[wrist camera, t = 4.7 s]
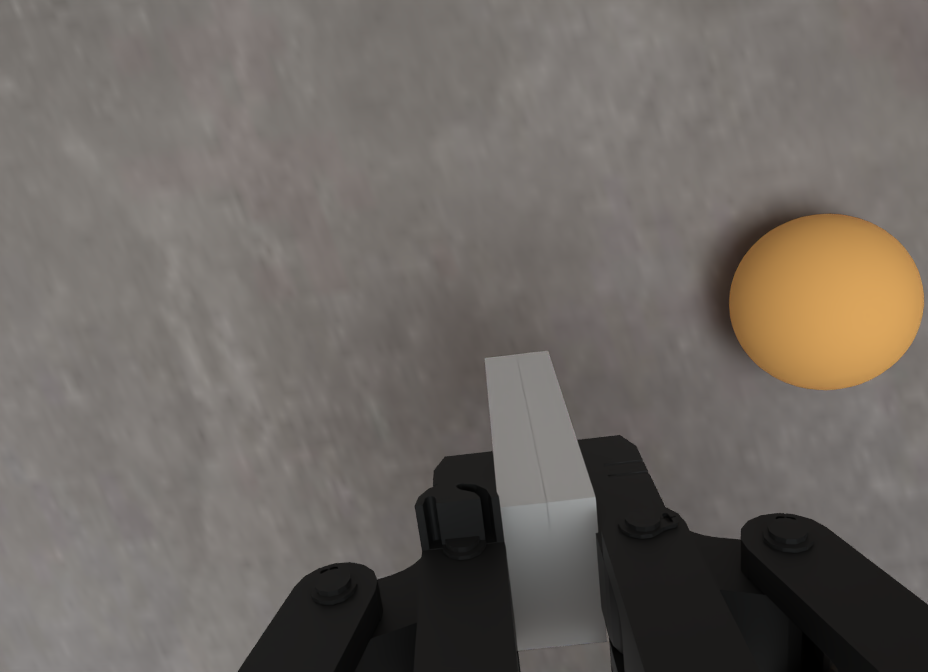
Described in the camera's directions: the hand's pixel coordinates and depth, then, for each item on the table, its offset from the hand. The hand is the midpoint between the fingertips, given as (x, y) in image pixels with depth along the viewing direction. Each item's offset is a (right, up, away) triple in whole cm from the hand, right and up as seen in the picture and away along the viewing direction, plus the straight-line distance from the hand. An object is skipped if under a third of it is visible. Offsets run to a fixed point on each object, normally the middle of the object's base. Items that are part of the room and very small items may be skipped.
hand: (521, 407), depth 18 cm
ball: (+10, +3, +6) cm, 12 cm away
